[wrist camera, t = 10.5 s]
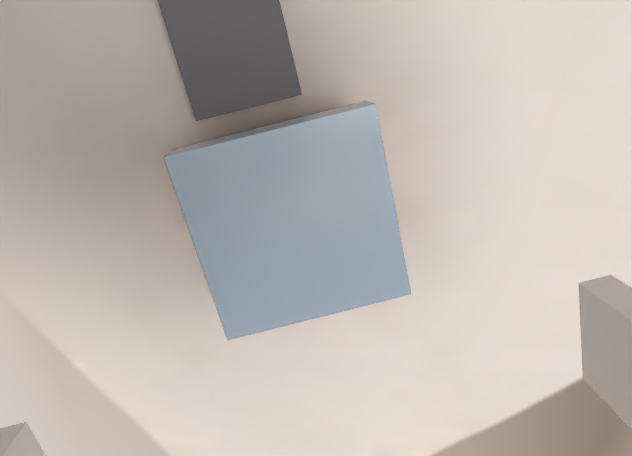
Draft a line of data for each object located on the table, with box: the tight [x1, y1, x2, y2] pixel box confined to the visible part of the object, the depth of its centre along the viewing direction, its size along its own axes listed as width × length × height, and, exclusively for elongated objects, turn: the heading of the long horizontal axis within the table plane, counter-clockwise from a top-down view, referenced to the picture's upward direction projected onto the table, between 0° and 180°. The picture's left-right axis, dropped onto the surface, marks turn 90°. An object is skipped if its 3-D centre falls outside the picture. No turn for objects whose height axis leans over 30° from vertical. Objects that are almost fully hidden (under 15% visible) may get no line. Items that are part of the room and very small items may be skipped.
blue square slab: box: [164, 101, 411, 340], centre depth 24 cm, size 10×10×2 cm
